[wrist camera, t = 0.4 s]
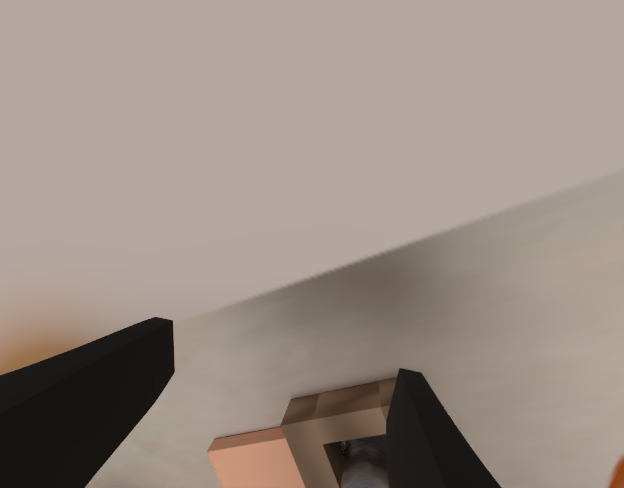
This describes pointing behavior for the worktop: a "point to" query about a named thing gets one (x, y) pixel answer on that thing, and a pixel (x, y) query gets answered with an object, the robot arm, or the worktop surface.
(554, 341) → the worktop surface
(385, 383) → the clamp block
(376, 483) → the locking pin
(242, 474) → the tile pad
